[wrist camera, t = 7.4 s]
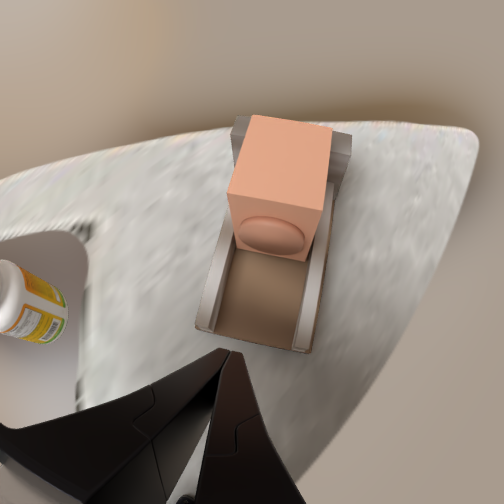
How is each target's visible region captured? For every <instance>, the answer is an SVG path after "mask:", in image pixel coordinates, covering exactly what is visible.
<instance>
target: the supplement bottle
mask: <svg viewBox="0 0 504 504" xmlns="http://www.w3.org/2000/svg"><path fill="white" fill-rule="evenodd" d="M67 322H68V305H67V301H66V299H65V297H64V295H63V293H62V292H61V291H60V290H59V289H58V288H56V287H55V286H53V285H51V284H49V283H47V282H45V281H44V280H42V279H40V278H38V277H36V276H35V275H33V274H31V273H29V272H28V271H26V270H24V269H22V268H21V267H19V266H18V265H16V264H14V263H12V262H10V261H7V260H0V333H2V334H6V335H9V336H13V337H17V338H20V339H24V340H27V341H31V342H35V343H40V344H50V343H52V342H54V341H56V340H57V339H58V338H59V337H60V336H61V335H62V334H63V332H64V330H65V328H66V325H67Z"/></svg>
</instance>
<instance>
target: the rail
mask: <svg viewBox="0 0 504 504" xmlns="http://www.w3.org/2000/svg"><path fill="white" fill-rule="evenodd" d="M250 120H251V117H247V116H239V115H238V116H237V118H236V121H235V123H234V126H233V129H232V131H231V134H230V135H231V143H232V151H233V159H234V167H235V165H236V162H237V159H238V156H239V153H240V150H241V147H242V144H243V141H244V138H245V135H246V132H247V129H248V126H249V123H250ZM351 147H352V135H349V134H345V133H340V132H336V131H332V139H331V148H330V157H329V166H328V174H327V182H326V190H325V197H324V205H323V211H322V214H321V217H320V220H319V223H318V226H317V229H316V232H315V235H314V238H313V240H312V243H311V246H310V249H309V252H308V255H307V257H306V260H305V262H303V261H298V260H293V259H288V258H283V257H278V256H273V255H268V254H263V253H258V252H253V251H248V250H243V249H238V248H237V245H236V240H235V235H234V229H233V224H232V219H231V213H230V208H229V205H228V208H227V211H226V215H225V218H224V221H223V225H222V228H221V232H220V235H219V238H218V242H217V245H216V249H215V252H214V256H213V259H212V263H211V266H210V270H209V273H208V277H207V281H206V284H205V288H204V291H203V295H202V299H201V302H200V306H199V310H198V313H197V317H196V321H195V328H196V329H197V330H201V331H205V332H209V333H213V334H217V335H221V336H226V337H230V338H234V339H238V340H243V341H247V342H252V343H256V344H261V345H266V346H271V347H276V348H281V349H286V350H291V351H296V352H301V353H307V354H310V353H311V349H312V344H313V339H314V334H315V328H316V323H317V318H318V312H319V306H320V300H321V295H322V288H323V282H324V276H325V270H326V263H327V256H328V249H329V242H330V235H331V227H332V219H333V211H334V203H335V198H336V196H337V193H338V190H339V188H340V185H341V182H342V179H343V177H344V174H345V171H346V168H347V165H348V163H349V160H350V157H351Z"/></svg>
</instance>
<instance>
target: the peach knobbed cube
mask: <svg viewBox="0 0 504 504" xmlns="http://www.w3.org/2000/svg"><path fill="white" fill-rule="evenodd" d="M332 129H333V128H329V127H324V126H319V125H314V124H309V123H303V122H298V121H292V120H285V119H280V118H273V117H266V116H259V115H252V117H251V120H250V123H249V126H248V129H247V132H246V135H245V138H244V141H243V144H242V147H241V150H240V153H239V156H238V159H237V162H236V165H235V169H234V172H233V175H232V178H231V181H230V184H229V187H228V191H227V197H228V202H229V208H230V213H231V219H232V224H233V229H234V235H235V240H236V245H237V248H238V249H243V250H248V251H253V252H258V253H263V254H268V255H273V256H278V257H283V258H288V259H293V260H298V261H303V262H305V260H306V257H307V255H308V252H309V249H310V246H311V243H312V240H313V238H314V235H315V232H316V229H317V226H318V223H319V220H320V217H321V214H322V211H323V205H324V197H325V190H326V182H327V174H328V166H329V157H330V148H331V139H332Z"/></svg>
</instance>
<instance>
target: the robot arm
mask: <svg viewBox="0 0 504 504" xmlns="http://www.w3.org/2000/svg"><path fill="white" fill-rule="evenodd" d="M210 419H211V420H210ZM209 421H210V425H209V430H208V435H207V440H206V445H205V450H204V455H203V460H202V465H201V470H200V475H199V480H198V485H197V490H196V495H195V499H193V498H191V497H189V496H187V495H183V496H181V497H180V498H179V500H178V501H177V503H176V504H306V502H305V501H304V499H303V497H302V496H301V494H300V492H299V490H298V489H297V487H296V485H295V483H294V482H293V480H292V478H291V476H290V474H289V473H288V471H287V469H286V467H285V465H284V464H283V462H282V460H281V458H280V456H279V455H278V453H277V451H276V449H275V447H274V445H273V443H272V441H271V439H270V437H269V435H268V432H267V430H266V427H265V424H264V421H263V418H262V415H261V413H260V410H259V406H258V403H257V400H256V397H255V393H254V390H253V387H252V383H251V380H250V377H249V373H248V370H247V367H246V363H245V360H244V356H243V354H242V353H240V352H235V351H231V352H230V351H229V350H227V349H222V348H217V349H216V350H214V351H212V352H210V353H208V354H207V355H205V356H203V357H201V358H199V359H197V360H196V361H194V362H192V363H190V364H188V365H186V366H184V367H183V368H181V369H179V370H177V371H175V372H173V373H171V374H169V375H167V376H166V377H164V378H162V379H160V380H158V381H156V382H154V383H152V384H150V385H147V386H145V387H143V388H141V389H139V390H137V391H135V392H133V393H130V394H128V395H126V396H123V397H120V398H118V399H115V400H112V401H109V402H106V403H104V404H101V405H98V406H95V407H91V408H88V409H85V410H82V411H79V412H76V413H73V414H69V415H66V416H63V417H59V418H56V419H53V420H49V421H46V422H42V423H39V424H35V425H31V426H27V427H24V428H19V429H12V428H8V427H6V426H4V425H3V424H2V423H0V462H1V463H2V465H1V466H0V504H166V501H168V499H169V497H170V495H171V493H172V492H173V490H174V488H175V486H176V484H177V482H178V480H179V478H180V477H181V475H182V473H183V471H184V469H185V467H186V465H187V463H188V461H189V460H190V458H191V456H192V454H193V452H194V450H195V448H196V446H197V444H198V442H199V440H200V438H201V436H202V434H203V432H204V430H205V429H206V427H207V425H208V423H209ZM183 500H187V501H188V503H184V502H183Z"/></svg>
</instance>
